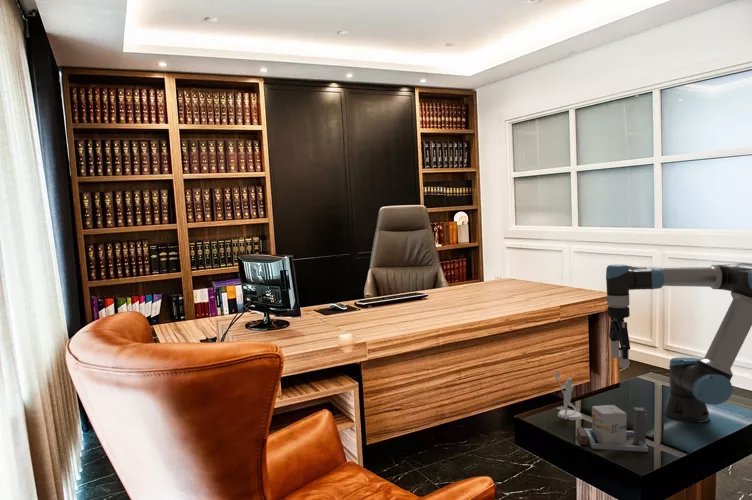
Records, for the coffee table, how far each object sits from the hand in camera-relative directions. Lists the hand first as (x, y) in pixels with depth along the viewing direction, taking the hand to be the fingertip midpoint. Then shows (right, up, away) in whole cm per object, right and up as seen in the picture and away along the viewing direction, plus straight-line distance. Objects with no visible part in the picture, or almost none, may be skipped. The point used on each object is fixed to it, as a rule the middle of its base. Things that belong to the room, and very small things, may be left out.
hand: (619, 362), depth 192 cm
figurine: (-13, -25, +14) cm, 32 cm away
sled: (-7, -25, -11) cm, 29 cm away
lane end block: (-18, -26, -9) cm, 32 cm away
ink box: (-9, -26, -11) cm, 29 cm away
